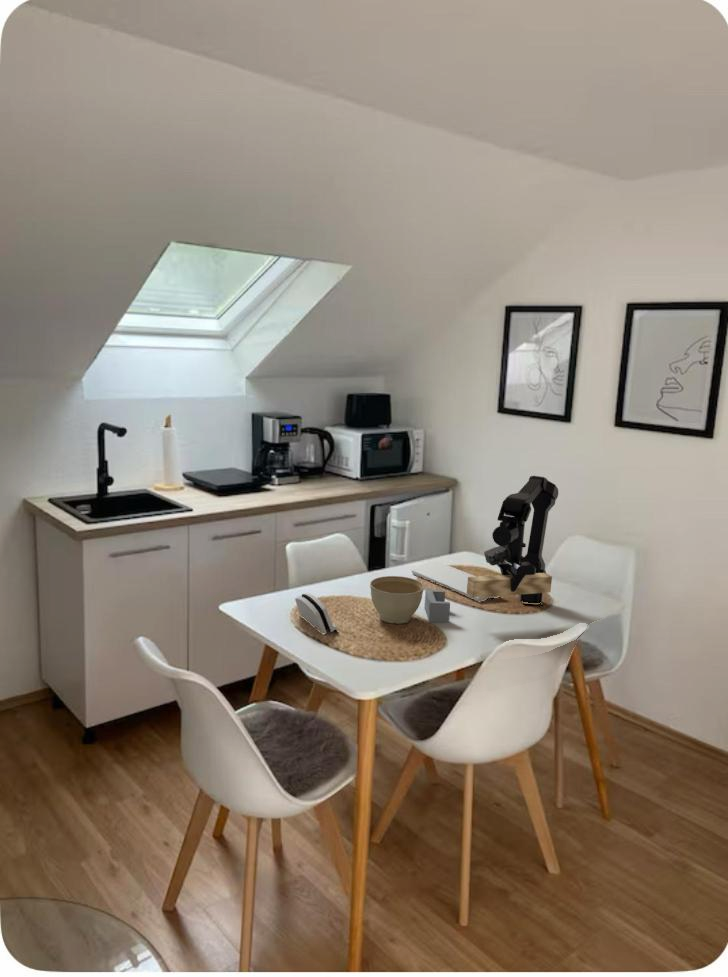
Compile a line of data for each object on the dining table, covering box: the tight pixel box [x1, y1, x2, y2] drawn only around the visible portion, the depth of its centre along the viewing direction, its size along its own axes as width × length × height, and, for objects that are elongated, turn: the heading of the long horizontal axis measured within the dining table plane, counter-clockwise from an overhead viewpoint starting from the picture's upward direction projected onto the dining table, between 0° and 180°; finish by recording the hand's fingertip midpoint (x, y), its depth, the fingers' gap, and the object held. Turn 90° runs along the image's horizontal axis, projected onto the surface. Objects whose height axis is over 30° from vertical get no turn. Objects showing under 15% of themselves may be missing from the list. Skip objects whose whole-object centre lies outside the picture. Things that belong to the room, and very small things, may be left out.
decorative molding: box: [410, 558, 497, 602], centre depth 260 cm, size 34×5×10 cm
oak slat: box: [467, 572, 553, 598], centre depth 226 cm, size 26×4×5 cm, turn 107°
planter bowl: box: [369, 575, 425, 625], centre depth 226 cm, size 16×16×11 cm
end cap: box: [424, 589, 451, 623], centre depth 231 cm, size 6×12×6 cm, turn 2°
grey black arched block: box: [295, 592, 339, 634], centre depth 218 cm, size 17×5×10 cm, turn 29°
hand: (509, 589), depth 226 cm, fingers closed on oak slat, 4 cm apart
